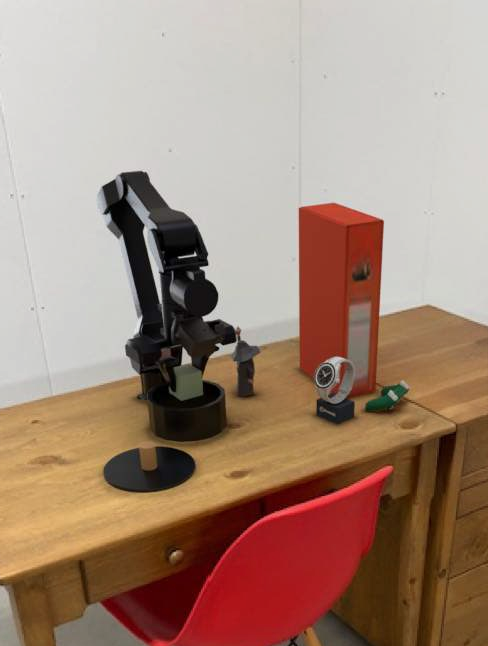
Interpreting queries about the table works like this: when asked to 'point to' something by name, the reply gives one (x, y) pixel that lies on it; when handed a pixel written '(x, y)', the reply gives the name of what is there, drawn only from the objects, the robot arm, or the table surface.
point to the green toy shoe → (388, 397)
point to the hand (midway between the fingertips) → (185, 388)
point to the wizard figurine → (244, 365)
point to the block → (187, 382)
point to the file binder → (340, 291)
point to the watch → (334, 404)
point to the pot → (187, 413)
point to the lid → (149, 468)
